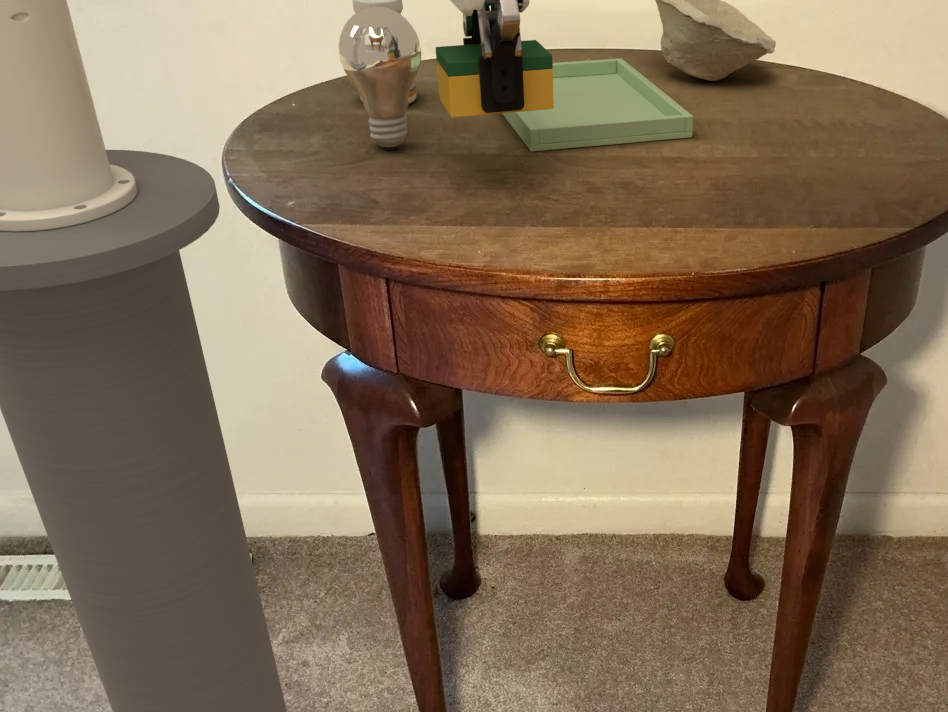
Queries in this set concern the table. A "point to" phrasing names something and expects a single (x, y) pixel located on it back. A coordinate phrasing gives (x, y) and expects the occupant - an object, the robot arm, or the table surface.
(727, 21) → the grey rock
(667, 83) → the table surface
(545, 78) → the sponge
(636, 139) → the tray
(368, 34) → the light bulb
